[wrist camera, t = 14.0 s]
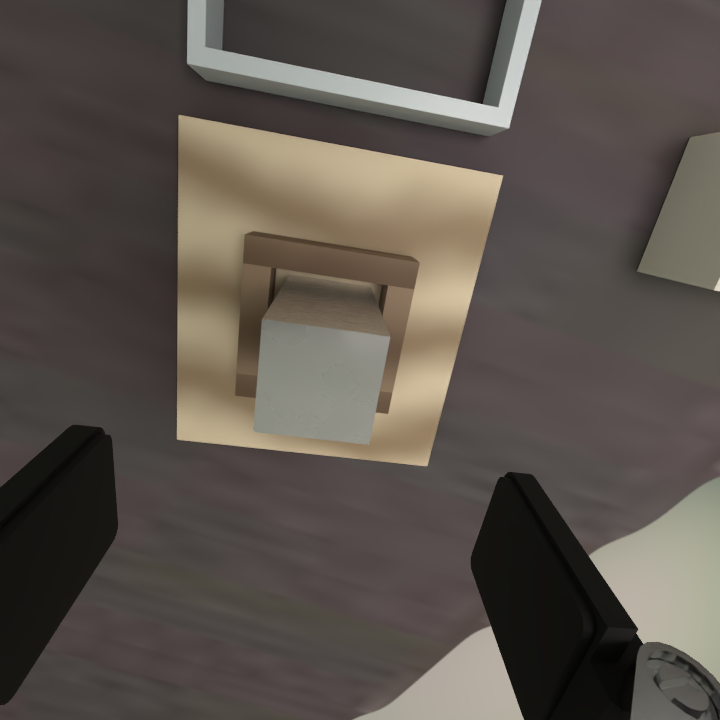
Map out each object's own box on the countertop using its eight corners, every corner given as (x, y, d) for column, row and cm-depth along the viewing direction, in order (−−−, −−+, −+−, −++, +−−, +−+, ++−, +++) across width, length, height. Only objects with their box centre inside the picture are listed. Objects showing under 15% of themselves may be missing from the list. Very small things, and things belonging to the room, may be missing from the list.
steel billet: (289, 274, 25) (262, 318, 16) (370, 286, 26) (390, 336, 16) (282, 350, 27) (253, 432, 17) (358, 360, 27) (369, 444, 18)
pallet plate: (186, 118, 23) (159, 104, 19) (495, 176, 25) (521, 173, 21) (182, 430, 30) (162, 460, 26) (424, 456, 32) (434, 488, 28)
